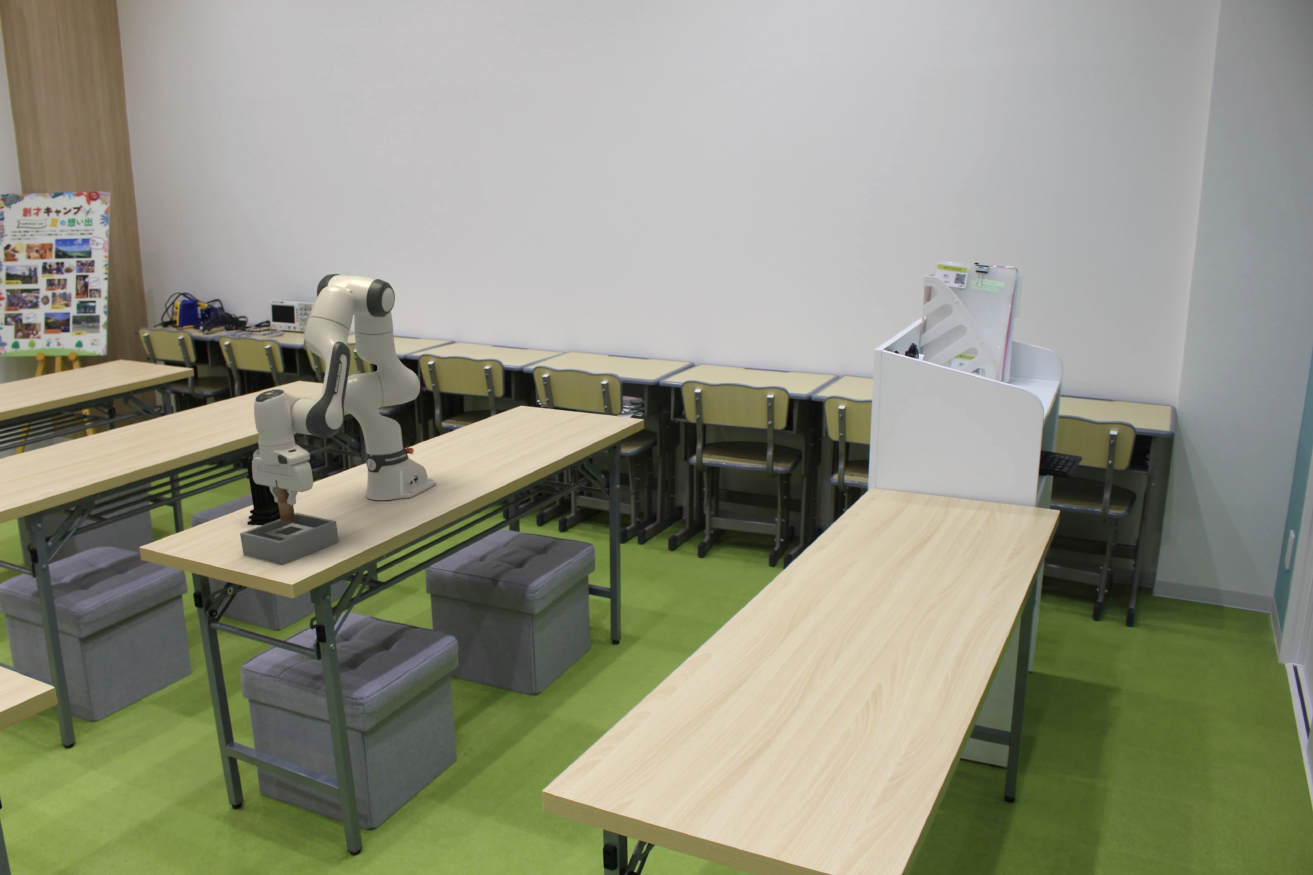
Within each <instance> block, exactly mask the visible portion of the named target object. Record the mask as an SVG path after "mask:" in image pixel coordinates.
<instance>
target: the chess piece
mask: <svg viewBox="0 0 1313 875" xmlns="http://www.w3.org/2000/svg"><path fill="white" fill-rule="evenodd" d="M255 451H256V450H254V451H252V452H251V457H250V458H249V456H242V457H241V456H240V457H239V458H238V459H239V462H240V463H242V469H247V472H248V474H247V476H246V479H248V480H249V487H250V493H251V499H252V500H251V501H252V506H253V508H252V509H251V510H249V514H250V515H249V516H248V520H249V521H247V525H248V526H262V525H265V524H267V523H270V522H273V521H276V520H279V519H280V512H279V506H278V502H275V500H274V496H273V494H272V492H271V491H270V487H269V486H266V485H260V484H256V483H255V482H254V480H253V474H252V460H253V459H254V458H253V454H254V452H255Z"/></svg>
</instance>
